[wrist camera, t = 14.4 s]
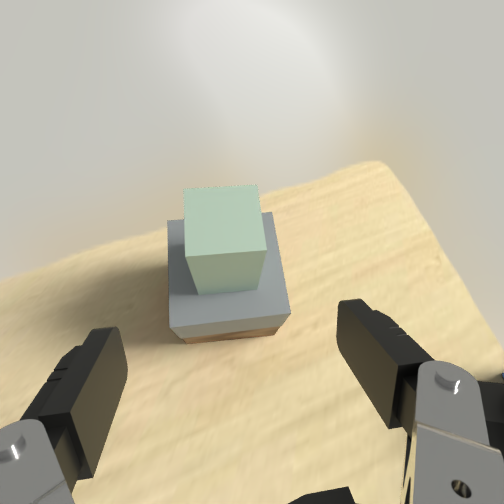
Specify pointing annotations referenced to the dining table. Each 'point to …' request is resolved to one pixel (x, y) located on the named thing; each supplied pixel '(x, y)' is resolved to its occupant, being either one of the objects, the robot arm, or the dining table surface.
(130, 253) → the dining table surface
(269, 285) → the tower top
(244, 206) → the sage block
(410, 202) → the dining table surface
